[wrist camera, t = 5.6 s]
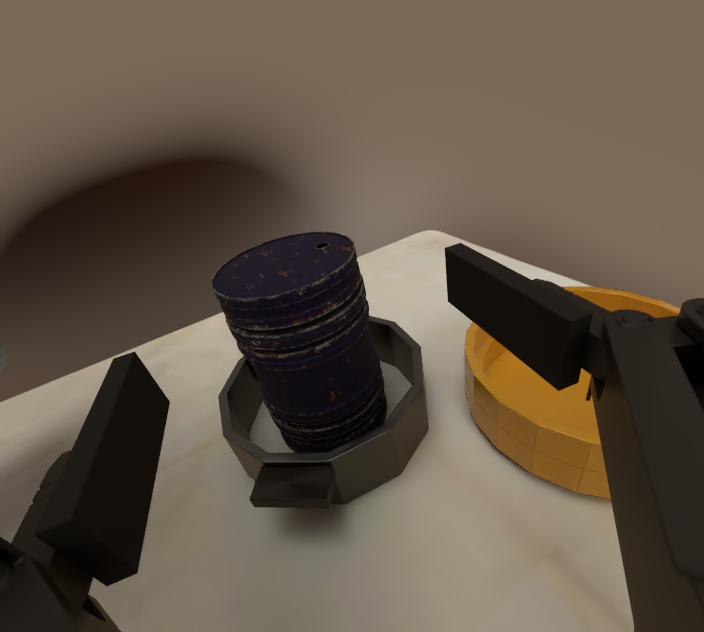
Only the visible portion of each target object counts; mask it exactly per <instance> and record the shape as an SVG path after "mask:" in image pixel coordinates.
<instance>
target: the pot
mask: <svg viewBox="0 0 704 632" xmlns="http://www.w3.org/2000/svg"><path fill="white" fill-rule="evenodd" d="M367 325H368V329H369V334H370V339H371V344H372V345H373V346H374V348H375V350H376V352H377V355H378V357H379V360H380V361H383V362H386V363H390V364H393V365H396V367H397V368H398V369H399V370H400V371H401V372H402V373H403V375H404V376H405V377H406V378H407V379H408V380H409V381H410V383H411V384H412V387H411V388H410V389H409V391H408V392H407V393H406V395H405V396H404V397H403V399H402V400H401V402H400V403H399V404H398V406H397V407H396V408H395V410H394V411H393V412H392V414H391V415H390V416H389V418H388V419H387V421H386V422H385V423H384V424H383V425H381V426H379V427H377V428H375V429H373V430H371V431H369V432H367V433H365V434H363V435H361V436H359V437H357V438H355V439H353V440H351V441H349V442H347V443H345V444H343V445H341V446H339V447H337V448H335V449H333V450H331V451H329V452H308V453H267V452H266V451H264V450H263V449H261V448H260V447H258V446H257V445H255V444H254V443H252V442H251V441H250V438H249V430H250V428H251V426H252V423H253V421H254V419H255V416H256V414H257V412H258V409H259V407H260V405H261V402H262V400H263V398H262V393H261V389H260V383H261V382H260V380H259V378H258V376H257V374H256V372H255V369H254V367H253V365H252V363H250V362H249V361H248V360H247V359H246V358H245V357H242V358H241V359H240V360H239V361H238V363H237V364H236V366H235V368H234V370H233V371H232V373H231V375H230V377H229V378H228V380H227V382H226V384H225V385H224V387H223V389H222V391H221V392H220V394H219V405H220V413H221V421H222V430H223V435H224V437H225V439H226V440H227V442H228V443H229V445H230V447H231V448H232V450H233V451H234V453H235V455H236V456H237V458H238V460H239V461H240V463H241V464H242V466H243V468H244V469H245V471H246V473H247V474H248V475H249V476H250V477H251V478H253V479H254V480H255V481H256V483H255V485H254V488H253V491H252V494H251V497H250V501H251V503H252V504H253V506H254V507H274V508H328V509H329V508H330V505H331V504H346V503H348V502H350V501H352V500H354V499H356V498H358V497H359V496H361V495H363V494H365V493H367V492H369V491H370V490H372V489H374V488H376V487H378V486H380V485H382V484H383V483H385V482H387V481H389V480H391V479H393V478H395V477H396V476H398V475H400V474H401V473H402V471H403V470H404V468H405V466H406V465H407V463H408V461H409V460H410V458H411V457H412V455H413V453H414V452H415V450H416V449H417V447H418V445H419V444H420V442H421V440H422V439H423V437H424V436H425V434H426V432H427V431H428V418H427V405H426V391H425V382H424V373H423V364H422V355H421V347H420V345H419V344H418V343H416V342H415V341H414V340H413V339H412V338H411V337H410V336H409V335H408V334H407V333H406V332H405V331H404V330H403V329H402V328H401V327H399V326H398V325H397V324H396V323H395V322H393V321H389V320H385V319H381V318H376V317H372V316H369V321H368V324H367Z"/></svg>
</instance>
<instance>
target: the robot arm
mask: <svg viewBox="0 0 704 632" xmlns="http://www.w3.org/2000/svg"><path fill="white" fill-rule="evenodd" d="M445 258H446V275H447V292H448V302H449V303H451V304H452V305H453V306H454V307H456V308H457V309H458V310H459V311H460V312H462V313H463V314H464V315H465V316H467V317H468V318H469V319H470V320H472V321H473V322H474V323H475V324H476V325H478V326H479V327H480V328H481V329H483V330H484V331H485V332H486V333H488V334H489V335H490V336H491V337H492V338H494V339H495V340H496V341H497V342H499V343H500V344H501V345H502V346H504V347H505V348H506V349H507V350H508V351H510V352H511V353H512V354H513V355H515V356H516V357H517V358H518V359H520V360H521V361H522V362H523V363H524V364H526V365H527V366H528V367H529V368H531V369H532V370H533V371H534V372H536V373H537V374H538V375H539V376H540V377H542V378H543V379H544V380H545V381H547V382H548V383H549V384H550V385H552V386H553V387H554V388H555V389H556V390H558V391H560V390H563V389H565V388H567V387H570V386H572V385H574V384H576V383H578V382H579V377H580V373H581V368H582V369H583V370H585V371H586V372H588V373H589V374H591V378H590V383H589V387H588V391H587V395H586V401H590V398H591V396H592V399H593V404H594V410H595V415H596V421H597V426H598V431H599V437H600V442H601V448H602V453H603V458H604V464H605V469H606V475H607V480H608V485H609V491H610V496H611V501H612V507H613V512H614V518H615V523H616V528H617V534H618V539H619V545H620V550H621V555H622V561H623V566H624V572H625V577H626V582H627V588H628V593H629V598H630V604H631V609H632V615H633V621H634V632H704V298H696V299H691V300H687V301H686V302H684V303H683V304H682V307H681V309H680V312H679V315H676V316H668V317H661V318H655V317H654V316H652V315H650V314H648V313H645V312H641V311H638V310H630V309H622V310H615V311H611V312H610V311H608V310H606V309H604V308H602V307H600V306H598V305H596V304H594V303H592V302H590V301H588V300H586V299H584V298H582V297H580V296H578V295H574V293H572V292H570V291H568V290H564V288H562V287H560V286H558V285H556V284H554V283H552V282H549V281H544V280H540V279H534V280H530V279H528V278H527V277H525V276H523V275H521V274H519V273H517V272H515V271H513V270H511V269H509V268H507V267H505V266H504V265H502V264H500V263H498V262H496V261H494V260H492V259H490V258H488V257H486V256H484V255H483V254H481V253H479V252H477V251H475V250H473V249H471V248H469V247H467V246H465V245H463V244H462V243H459V244H456V245H453V246H450V247H447V248H445ZM5 361H6V355H5V351H4V349H3V347H2V345H1V343H0V371H1V369H2V368H3V366H4V364H5ZM169 404H170V402H169V400H168V399H167V397H166V396H165V394H164V393H163V391H162V390H161V389H160V387H159V386H158V384H157V383H156V381H155V380H154V379H153V377H152V376H151V374H150V373H149V371H148V370H147V368H146V367H145V366H144V364H143V363H142V361H141V360H140V358H139V357H138V356H137V354H136V353H135V352H132V353H129V354H126V355H123V356H120V357H117V358H114V359H113V361H112V363H111V366H110V368H109V370H108V372H107V374H106V376H105V379H104V381H103V383H102V385H101V387H100V390H99V392H98V394H97V396H96V398H95V400H94V403H93V405H92V407H91V409H90V411H89V414H88V416H87V418H86V420H85V422H84V424H83V427H82V429H81V431H80V433H79V435H78V438H77V440H76V442H75V444H74V446H73V448H72V450H71V451H68V452H65V453H62V454H61V456H60V457H59V458H58V459H57V460H56V461H55V463H54V464H53V465H52V466H51V467H50V469H49V470H48V471H47V473H46V475H45V477H44V479H43V481H42V483H41V485H40V487H39V488H40V490H38V491H37V493H36V495H35V497H34V499H33V501H32V502H33V504H32V505H30V507H29V509H28V511H27V513H26V515H25V517H24V519H23V521H22V523H21V525H20V527H19V529H18V531H17V533H16V535H15V537H14V539H13V541H12V543H11V544H10V543H9V542H7V541H6V540H4V539H3V538H1V537H0V632H121V631H120V630H119V628H118V627H117V626H116V624H115V623H114V622H113V621H112V619H111V618H110V617H109V615H108V614H107V613H106V612H105V610H104V609H103V608H102V606H101V605H100V604H99V602H98V601H97V600H96V599H95V598H93V597H92V596H90V595H89V594H88V593H89V590H90V586H91V583H92V579H93V577H94V578H95V579H97V580H98V581H100V582H101V583H103V584H104V585H105V586H109V585H111V584H114V583H116V582H118V581H121V580H123V579H125V578H127V577H130V576H132V575H134V574H137V572H138V567H139V562H140V557H141V551H142V546H143V541H144V536H145V530H146V525H147V520H148V514H149V509H150V504H151V499H152V493H153V488H154V483H155V478H156V472H157V467H158V462H159V456H160V451H161V446H162V441H163V435H164V430H165V425H166V419H167V414H168V409H169Z"/></svg>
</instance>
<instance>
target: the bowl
mask: <svg viewBox="0 0 704 632" xmlns="http://www.w3.org/2000/svg"><path fill="white" fill-rule="evenodd" d="M562 288H564V290H568V291H570V292H572V293H574V295H578V296H580V297H582V298H584V299H586V300H588V301H590V302H592V303H594V304H596V305H598V306H600V307H602V308H604V309H606V310H608V311H610V312H611V311H615V310H622V309H630V310H638V311H641V312H645V313H648V314H650V315H652V316H654V317H655V318H661V317H668V316H676V315H679V312H680V308H677V307H675V306H673V305H671V304H668V303H666V302H663V301H660V300H656V299H652V298H648V297H645V296H641V295H637V294H633V293H630V292H625V291H618V290H611V289H603V288H595V287H562ZM464 357H465V395H466V399H467V401H468V404H469V407H470V410H471V413H472V416H473V419H474V421H475V422H476V424H477V425H478V426H479V427H480V429H481V430H482V431H483V432H484V434H485V435H486V436H487V437H488V439H489V440H490V441H491V442H492V444H493V445H494V446H495V447H496V448H497V449H498V450H500V451H501V452H502V453H504V454H505V455H507V456H508V457H509V458H511V459H512V460H513V461H515V462H516V463H517V464H519V465H520V466H522V467H523V468H524V469H526V470H527V471H528V472H531V473H532V474H534V475H536V476H539V477H541V478H543V479H546V480H548V481H550V482H553V483H555V484H557V485H560V486H562V487H564V488H567V489H569V490H571V491H574V492H578V493H582V494H587V495H593V496H598V497H604V498H609V499H611V496H610V491H609V485H608V480H607V475H606V469H605V464H604V458H603V453H602V448H601V442H600V437H599V431H598V426H597V421H596V415H595V410H594V404H593V399H592V396H591V398H590V401H586V395H587V391H588V387H589V383H590V378H591V374H589V373H588V372H586V371H585V370H583V369H582V368H581V373H580V377H579V382H578V383H576V384H574V385H572V386H570V387H567V388H565V389H563V390H560V391H558V390H556V389H555V388H554V387H553V386H552V385H550V384H549V383H548V382H547V381H545V380H544V379H543V378H542V377H540V376H539V375H538V374H537V373H536V372H534V371H533V370H532V369H531V368H529V367H528V366H527V365H526V364H524V363H523V362H522V361H521V360H520V359H518V358H517V357H516V356H515V355H513V354H512V353H511V352H510V351H508V350H507V349H506V348H505V347H504V346H502V345H501V344H500V343H499V342H497V341H496V340H495V339H494V338H492V337H491V336H490V335H489V334H488V333H486V332H485V331H484V330H483V329H481V328H480V327H479V326H478V325H476V324H475V323H474V322H472V324H471V325H470V327H469V328H468V330H467V332H466V341H465V350H464Z"/></svg>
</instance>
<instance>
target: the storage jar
mask: <svg viewBox="0 0 704 632" xmlns="http://www.w3.org/2000/svg"><path fill="white" fill-rule="evenodd" d="M211 284H212V288H213V291H214V293H215V295H216V297H217V299H218V300H219V301H220V303H221V308H222V310H223V312H224V314H225V318H226V322H227V324H228V327H229V329H230V331H231V333H232V335H233V336H234V338H235V339H236V341H237V346H238V348H239V350H240V351H241V353H242V354H243V355H244V357H245V358H246V359H247V360H248V361H249V362H250V363H252V365H253V367H254V369H255V372H256V374H257V376H258V378H259V380H260V382H261V383H260V389H261V393H262V398H263V401H264V403H265V405H266V407H267V408H268V410H269V412H270V415H271V417H272V419H273V421H274V422H275V424H276V425H277V426H278V428H279V429H280V431H281V434H282V436H283V438H284V440H285V442H286V444H287V445H288V446H289V447H290V448H291V449H292V450H293V451H294V452H296V453H308V452H329V451H331V450H333V449H335V448H337V447H339V446H341V445H343V444H345V443H347V442H349V441H351V440H353V439H355V438H357V437H359V436H361V435H363V434H365V433H367V432H369V431H371V430H373V429H375V428H377V427H379V426H381V425H383V423H384V421H385V418H386V413H387V403H386V398H385V394H384V381H383V376H382V371H381V367H380V360H379V357H378V355H377V352H376V350H375V348H374V346H373V345H372V344H371V339H370V334H369V329H368V325H367V324H368V321H369V305H368V301H367V300H366V291H365V286H364V281H363V277H362V275H361V274H360V270H359V265H358V262H357V255H356V250H355V246H354V242H353V241H352V240H351V239H350V238H349V237H347V236H345V235H343V234H339V233H335V232H307V233H300V234H294V235H289V236H284V237H281V238H277V239H273V240H271V241H267V242H265V243H262V244H259V245H257V246H254V247H252V248H250V249H248V250H246V251H244V252H242V253H240V254H238V255H236V256H235V257H233V258H232V259H230V260H229V261H227V262H226V263H225V264H223V265H222V266H221V267H220V268H219V269H218V270H217V271H216V273H215V274H214V276H213V278H212V282H211Z"/></svg>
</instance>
